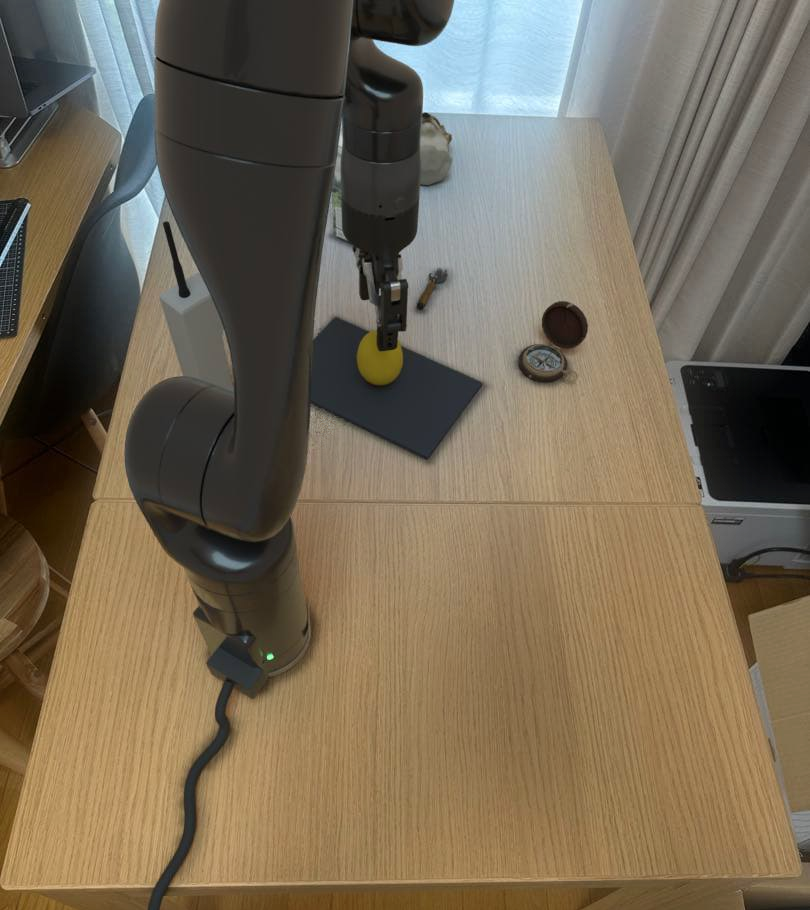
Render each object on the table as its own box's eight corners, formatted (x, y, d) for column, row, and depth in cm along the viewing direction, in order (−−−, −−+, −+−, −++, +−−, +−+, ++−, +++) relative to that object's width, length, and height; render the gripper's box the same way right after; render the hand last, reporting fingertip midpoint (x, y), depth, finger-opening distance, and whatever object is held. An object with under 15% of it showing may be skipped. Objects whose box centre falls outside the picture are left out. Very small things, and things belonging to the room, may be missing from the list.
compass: (509, 368, 95) (518, 325, 89) (541, 335, 99) (552, 291, 92) (562, 398, 93) (576, 355, 87) (593, 363, 96) (608, 319, 90)
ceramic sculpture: (397, 137, 106) (382, 89, 114) (395, 195, 113) (381, 146, 122) (470, 135, 107) (449, 87, 116) (463, 192, 114) (445, 143, 123)
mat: (427, 460, 87) (427, 457, 86) (273, 385, 92) (273, 381, 91) (482, 385, 93) (482, 382, 93) (335, 319, 99) (335, 316, 98)
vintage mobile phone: (243, 400, 90) (204, 216, 69) (211, 422, 88) (161, 240, 67) (223, 384, 92) (179, 199, 70) (191, 405, 90) (136, 221, 68)
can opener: (422, 311, 100) (423, 304, 99) (407, 305, 100) (407, 298, 99) (451, 273, 104) (452, 266, 103) (436, 268, 105) (437, 261, 104)
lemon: (396, 402, 91) (398, 353, 84) (352, 394, 91) (351, 345, 84) (405, 370, 93) (408, 320, 87) (363, 362, 94) (362, 312, 87)
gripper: (326, 150, 73) (332, 286, 87) (358, 239, 66) (359, 372, 80) (399, 143, 75) (394, 278, 88) (439, 229, 67) (426, 361, 81)
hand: (377, 322), depth 84 cm, fingers open, 8 cm apart
